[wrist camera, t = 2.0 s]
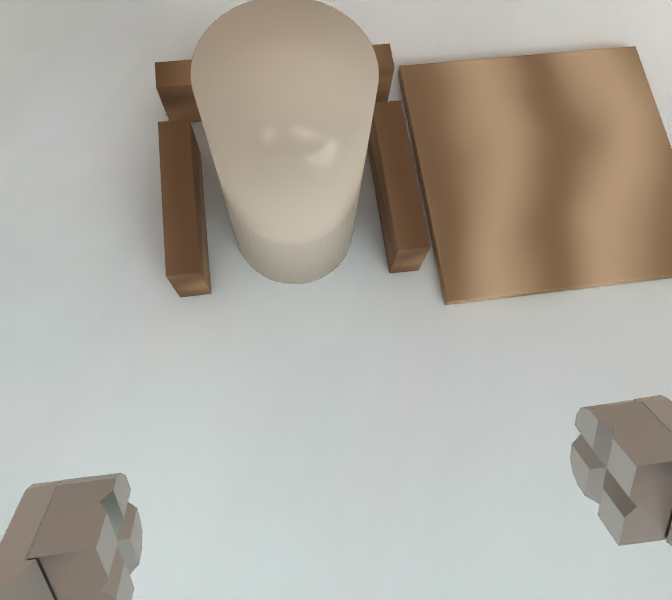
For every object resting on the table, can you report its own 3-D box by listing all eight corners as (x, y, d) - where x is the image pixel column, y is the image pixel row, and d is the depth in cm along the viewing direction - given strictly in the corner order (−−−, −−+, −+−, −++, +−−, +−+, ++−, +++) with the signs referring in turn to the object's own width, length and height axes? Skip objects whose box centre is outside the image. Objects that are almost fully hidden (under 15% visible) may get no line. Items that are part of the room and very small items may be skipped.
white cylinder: (241, 290, 29) (196, 161, 17) (228, 144, 31) (181, -53, 20) (360, 276, 29) (393, 142, 18) (337, 134, 32) (353, -64, 20)
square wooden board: (445, 304, 29) (447, 301, 28) (398, 73, 33) (399, 65, 33) (706, 273, 30) (714, 269, 30) (630, 53, 34) (635, 46, 34)
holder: (180, 296, 28) (165, 276, 26) (168, 100, 32) (155, 62, 29) (418, 270, 29) (430, 247, 27) (382, 82, 33) (389, 43, 30)
